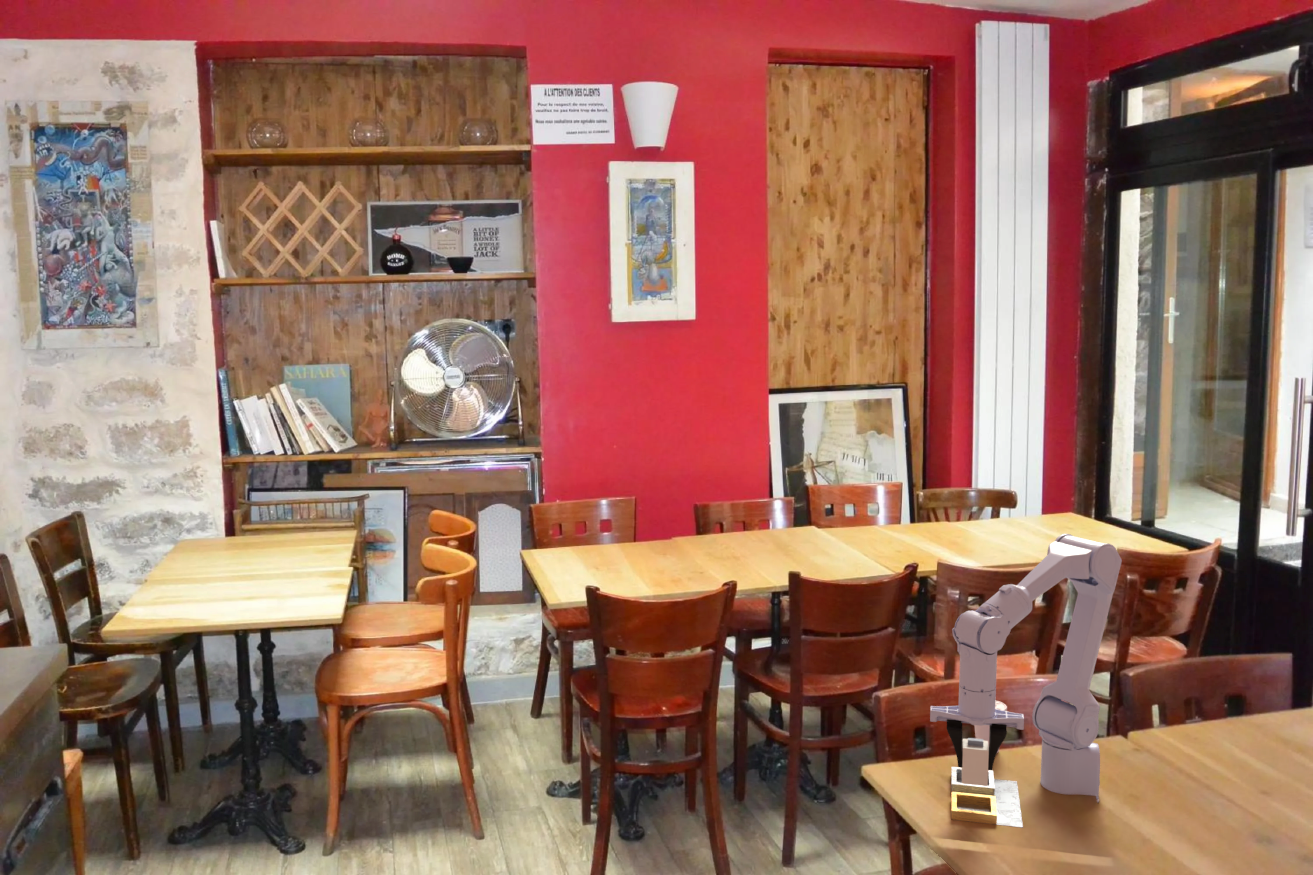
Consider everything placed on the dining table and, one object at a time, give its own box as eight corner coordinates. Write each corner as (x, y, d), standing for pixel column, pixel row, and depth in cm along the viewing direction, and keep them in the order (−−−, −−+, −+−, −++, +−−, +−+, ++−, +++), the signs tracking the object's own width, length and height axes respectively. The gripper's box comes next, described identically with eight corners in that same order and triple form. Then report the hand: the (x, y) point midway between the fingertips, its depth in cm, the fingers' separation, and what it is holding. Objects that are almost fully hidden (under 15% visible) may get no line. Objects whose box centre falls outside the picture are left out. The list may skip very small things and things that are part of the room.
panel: (1016, 786, 192) (1017, 772, 192) (1022, 833, 176) (1023, 818, 176) (951, 779, 195) (951, 766, 195) (951, 825, 179) (951, 810, 179)
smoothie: (1001, 748, 208) (1004, 676, 206) (1009, 762, 202) (1011, 689, 200) (966, 747, 209) (968, 675, 207) (973, 761, 203) (975, 688, 201)
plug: (986, 775, 182) (988, 735, 181) (987, 785, 178) (988, 745, 177) (961, 773, 183) (962, 733, 182) (961, 783, 179) (963, 743, 178)
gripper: (930, 690, 176) (928, 771, 178) (1026, 698, 173) (1023, 781, 174) (931, 675, 183) (929, 753, 185) (1023, 683, 179) (1020, 762, 181)
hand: (974, 766), depth 180 cm, fingers closed on plug, 4 cm apart
